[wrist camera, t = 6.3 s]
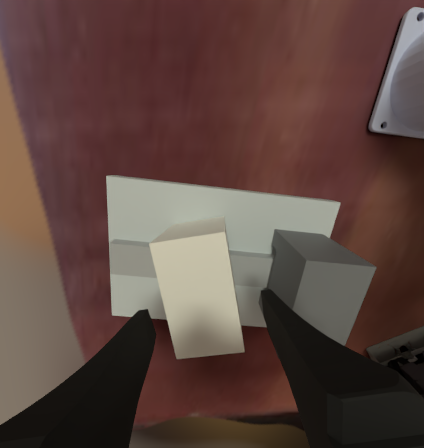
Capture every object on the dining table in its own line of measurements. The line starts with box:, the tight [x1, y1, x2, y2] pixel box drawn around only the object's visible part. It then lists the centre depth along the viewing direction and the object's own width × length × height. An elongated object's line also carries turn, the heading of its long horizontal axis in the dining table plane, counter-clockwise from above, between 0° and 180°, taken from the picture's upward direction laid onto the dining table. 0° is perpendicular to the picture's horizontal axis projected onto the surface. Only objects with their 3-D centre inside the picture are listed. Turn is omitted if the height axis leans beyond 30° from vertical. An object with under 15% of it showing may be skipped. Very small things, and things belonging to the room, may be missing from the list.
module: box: [149, 216, 245, 359], centre depth 15 cm, size 4×9×6 cm, turn 10°
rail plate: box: [106, 175, 377, 358], centre depth 16 cm, size 20×14×7 cm
